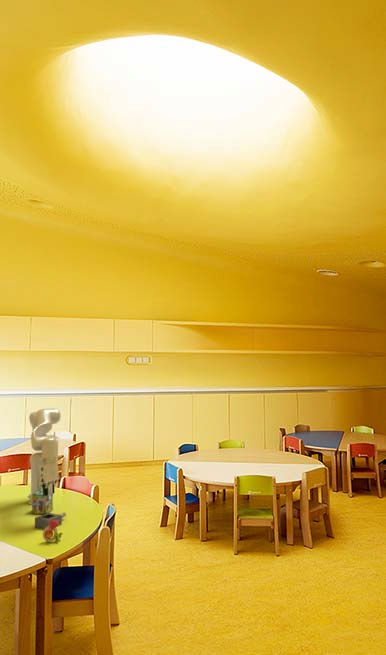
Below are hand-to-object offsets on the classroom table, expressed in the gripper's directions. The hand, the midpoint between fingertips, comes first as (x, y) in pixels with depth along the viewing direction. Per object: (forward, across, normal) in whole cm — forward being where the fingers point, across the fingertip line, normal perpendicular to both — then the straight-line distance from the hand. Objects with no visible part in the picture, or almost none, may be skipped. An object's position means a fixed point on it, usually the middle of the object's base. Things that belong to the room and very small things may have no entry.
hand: (48, 494), depth 250 cm
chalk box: (+17, +16, +22) cm, 32 cm away
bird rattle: (+17, -16, -20) cm, 31 cm away
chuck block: (+17, +4, 0) cm, 17 cm away
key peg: (+2, 0, 0) cm, 2 cm away
